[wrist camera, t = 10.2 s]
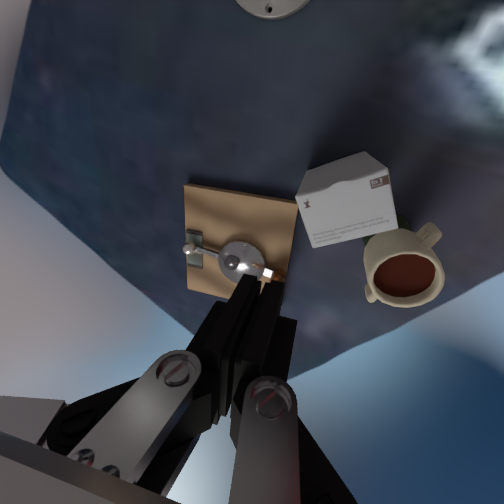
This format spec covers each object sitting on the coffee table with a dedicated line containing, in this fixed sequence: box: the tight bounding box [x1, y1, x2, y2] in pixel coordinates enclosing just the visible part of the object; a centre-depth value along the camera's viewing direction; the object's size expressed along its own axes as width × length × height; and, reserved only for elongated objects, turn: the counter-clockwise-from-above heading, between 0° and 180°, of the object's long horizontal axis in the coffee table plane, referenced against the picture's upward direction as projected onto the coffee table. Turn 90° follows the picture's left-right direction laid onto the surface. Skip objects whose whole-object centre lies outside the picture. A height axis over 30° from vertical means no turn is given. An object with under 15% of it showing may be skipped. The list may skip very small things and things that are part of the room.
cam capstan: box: [183, 240, 287, 284], centre depth 43 cm, size 18×8×6 cm, turn 77°
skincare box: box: [295, 151, 398, 248], centre depth 31 cm, size 8×6×15 cm
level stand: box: [184, 183, 299, 299], centre depth 46 cm, size 20×18×2 cm
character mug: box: [362, 215, 445, 308], centre depth 33 cm, size 11×7×13 cm, turn 154°
